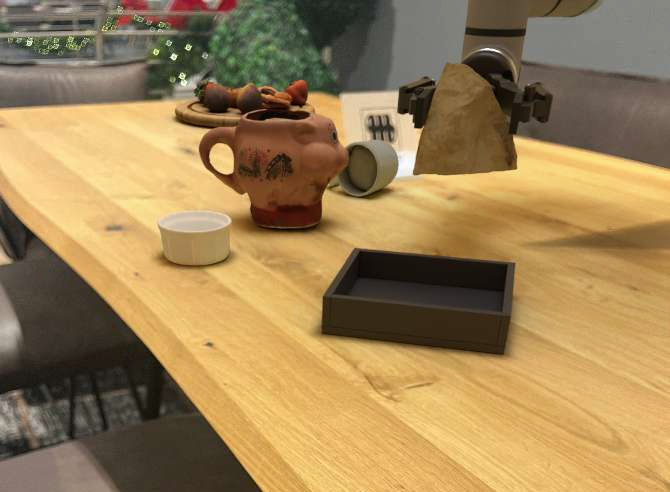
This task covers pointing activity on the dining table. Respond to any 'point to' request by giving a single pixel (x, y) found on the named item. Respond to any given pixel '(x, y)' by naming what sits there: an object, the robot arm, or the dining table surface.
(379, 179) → the ceramic mug
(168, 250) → the ramekin
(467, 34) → the robot arm
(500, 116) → the rock
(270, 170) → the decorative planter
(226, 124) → the wooden plate
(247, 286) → the dining table surface
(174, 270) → the dining table surface
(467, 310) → the tray
